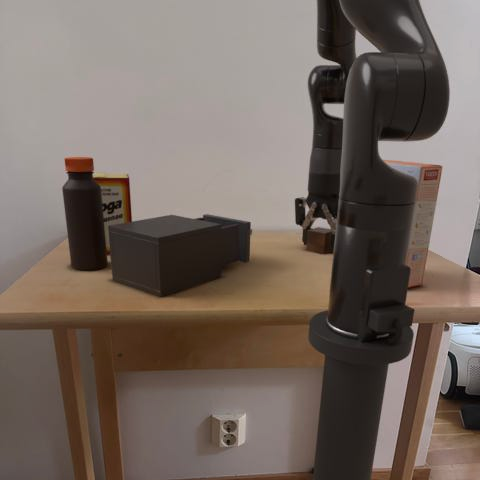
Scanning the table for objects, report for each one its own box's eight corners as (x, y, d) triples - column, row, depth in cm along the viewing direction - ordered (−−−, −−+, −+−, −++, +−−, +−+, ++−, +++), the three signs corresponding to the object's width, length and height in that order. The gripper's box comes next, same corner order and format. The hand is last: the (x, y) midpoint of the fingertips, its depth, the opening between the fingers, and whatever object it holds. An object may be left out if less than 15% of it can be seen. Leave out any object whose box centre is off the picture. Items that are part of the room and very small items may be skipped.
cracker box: (423, 285, 87) (445, 164, 79) (401, 291, 84) (420, 165, 76) (366, 266, 98) (380, 158, 90) (344, 270, 95) (357, 158, 87)
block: (333, 250, 110) (335, 230, 109) (323, 253, 107) (325, 233, 105) (316, 246, 113) (318, 226, 111) (305, 250, 110) (307, 229, 108)
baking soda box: (132, 245, 110) (127, 172, 104) (134, 252, 104) (129, 175, 98) (89, 247, 108) (81, 172, 102) (88, 254, 102) (80, 176, 96)
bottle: (71, 262, 96) (58, 156, 89) (106, 260, 99) (97, 156, 91) (71, 272, 91) (58, 159, 83) (109, 269, 93) (99, 159, 85)
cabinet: (173, 263, 97) (171, 214, 93) (221, 277, 90) (221, 224, 86) (112, 280, 87) (107, 225, 83) (160, 297, 79) (158, 237, 75)
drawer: (220, 247, 106) (220, 211, 103) (262, 257, 99) (264, 219, 96) (158, 264, 93) (156, 223, 90) (202, 276, 87) (202, 232, 84)
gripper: (288, 168, 105) (284, 245, 111) (348, 174, 97) (340, 256, 103) (307, 166, 110) (302, 239, 117) (365, 172, 102) (356, 250, 108)
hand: (320, 247), depth 110 cm, fingers open, 6 cm apart
